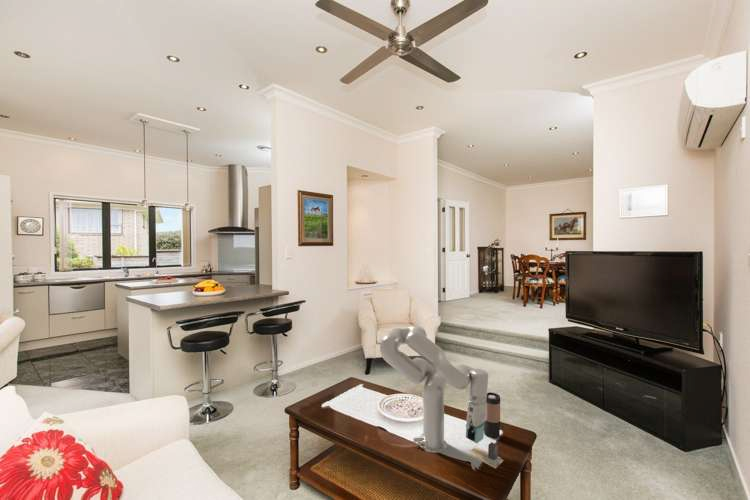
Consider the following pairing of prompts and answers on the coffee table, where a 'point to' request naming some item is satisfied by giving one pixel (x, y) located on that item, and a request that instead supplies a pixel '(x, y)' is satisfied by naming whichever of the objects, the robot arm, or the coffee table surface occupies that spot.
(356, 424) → the coffee table surface
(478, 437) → the mint green cube
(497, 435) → the travel mug
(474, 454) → the board
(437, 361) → the robot arm
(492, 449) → the post
